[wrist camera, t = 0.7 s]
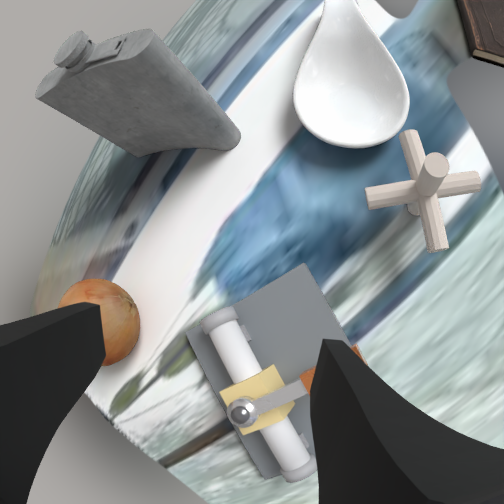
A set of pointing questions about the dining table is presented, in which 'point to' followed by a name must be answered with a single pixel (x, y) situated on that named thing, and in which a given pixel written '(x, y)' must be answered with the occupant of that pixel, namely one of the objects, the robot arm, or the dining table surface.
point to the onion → (109, 315)
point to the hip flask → (135, 95)
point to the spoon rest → (349, 82)
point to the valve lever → (273, 398)
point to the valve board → (270, 365)
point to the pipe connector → (424, 189)
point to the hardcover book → (484, 29)
